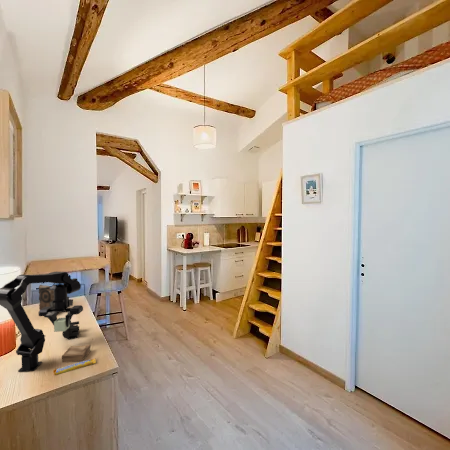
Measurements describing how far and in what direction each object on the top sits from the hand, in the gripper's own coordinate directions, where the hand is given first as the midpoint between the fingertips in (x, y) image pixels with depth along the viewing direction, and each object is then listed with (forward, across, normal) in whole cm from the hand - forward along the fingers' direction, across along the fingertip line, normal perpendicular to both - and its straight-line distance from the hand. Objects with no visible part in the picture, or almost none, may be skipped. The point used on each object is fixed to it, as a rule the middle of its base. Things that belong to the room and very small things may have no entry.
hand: (62, 327), depth 135 cm
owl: (+11, +30, -49) cm, 58 cm away
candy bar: (+11, -14, +19) cm, 26 cm away
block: (+1, 0, 0) cm, 1 cm away
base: (+11, -10, +9) cm, 18 cm away
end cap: (+11, +2, -14) cm, 18 cm away
